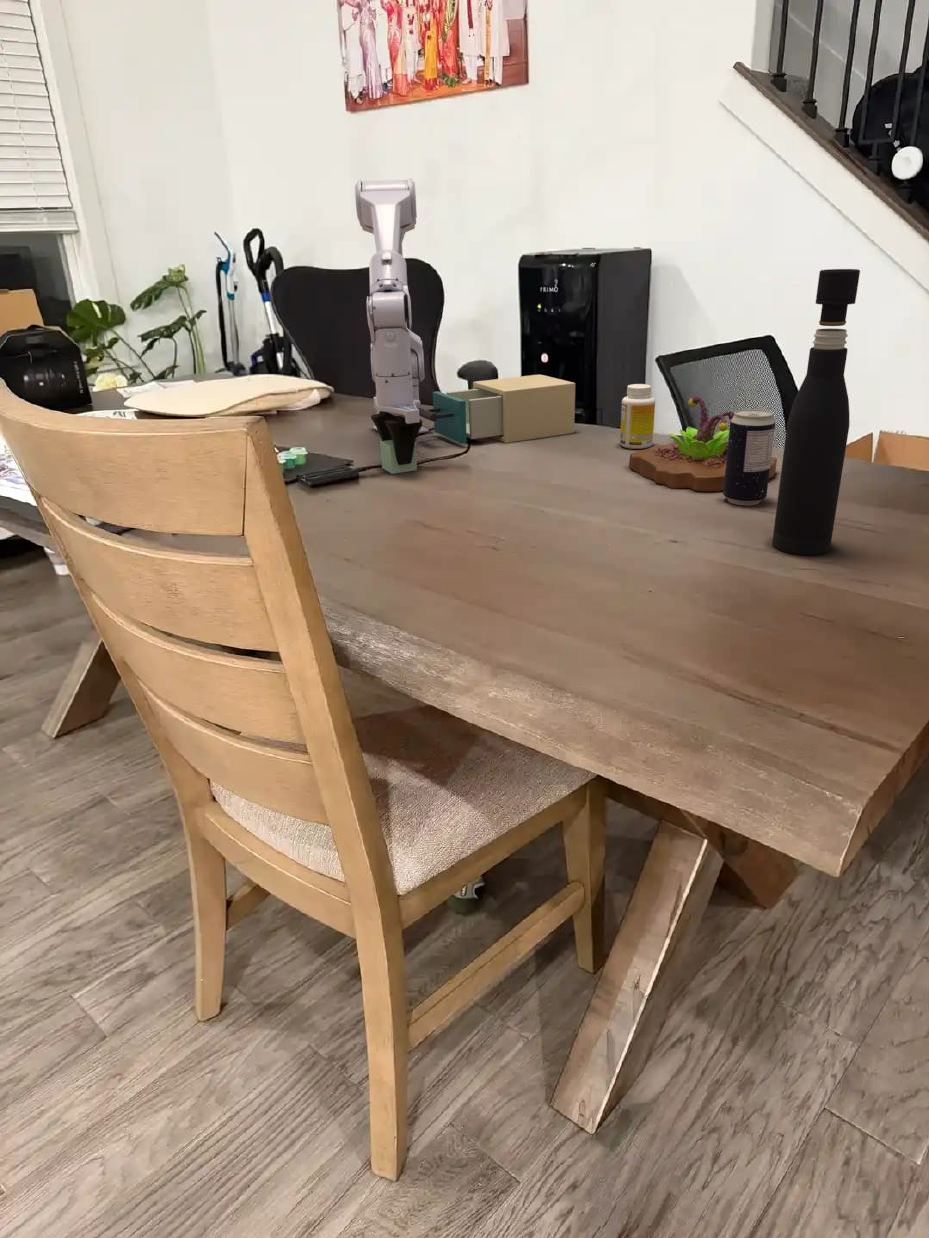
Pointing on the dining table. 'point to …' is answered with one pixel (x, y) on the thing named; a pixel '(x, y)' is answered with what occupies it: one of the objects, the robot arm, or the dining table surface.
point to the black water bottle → (817, 429)
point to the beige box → (533, 406)
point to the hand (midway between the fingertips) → (398, 460)
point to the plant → (691, 456)
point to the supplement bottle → (637, 417)
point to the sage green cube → (390, 459)
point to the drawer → (466, 414)
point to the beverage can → (749, 456)
